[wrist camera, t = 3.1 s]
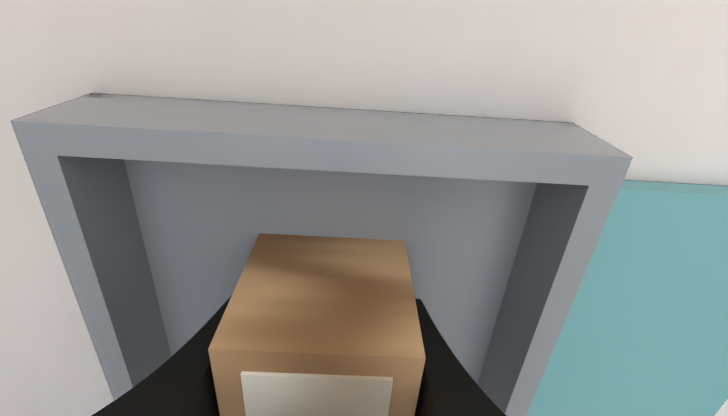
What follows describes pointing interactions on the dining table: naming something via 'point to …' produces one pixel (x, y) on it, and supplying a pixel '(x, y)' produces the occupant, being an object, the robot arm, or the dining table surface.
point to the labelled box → (320, 331)
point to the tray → (319, 217)
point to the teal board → (648, 311)
